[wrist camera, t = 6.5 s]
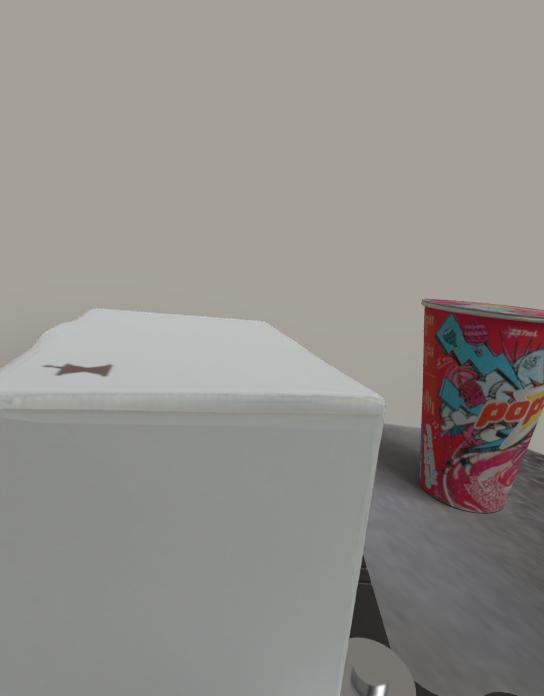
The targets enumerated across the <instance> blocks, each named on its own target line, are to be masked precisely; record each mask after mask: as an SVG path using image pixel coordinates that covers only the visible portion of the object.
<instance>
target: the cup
mask: <svg viewBox="0 0 544 696" xmlns="http://www.w3.org/2000/svg"><path fill="white" fill-rule="evenodd" d="M421 304H422V305H423V306H425V316H424V358H423V359H424V360H423V362H424V363H423V397H422V424H421V451H420V478H419V481H420V484H421V486H422V487H423V488H424V490H426V491H427V492H428V493H429V494H430V495H432V496H433V497H435V498H436V499H438V500H440V501H442V502H444V503H446V504H448V505H450V506H453V507H456V508H459V509H462V510H466V511H470V512H477V513H492V512H497V511H499V510H501V509H502V508H503V507H504V505H505V502H506V500H507V497H508V495H509V492H510V490H511V487H512V485H513V482H514V480H515V477H516V475H517V472H518V470H519V467H520V465H521V462H522V460H523V457H524V455H525V452H526V450H527V447H528V445H529V442H530V440H531V437H532V435H533V432H534V430H535V427H536V425H537V422H538V420H539V417H540V415H541V412H542V409H543V407H544V310H538V309H530V308H522V307H513V306H504V305H495V304H487V303H477V302H464V301H452V300H436V299H435V300H434V299H422V303H421Z"/></svg>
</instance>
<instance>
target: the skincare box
mask: <svg viewBox="0 0 544 696" xmlns="http://www.w3.org/2000/svg"><path fill="white" fill-rule="evenodd" d="M385 408H386V405H385V402H384V399H383V398H382V397H381V396H380V395H379V394H377V393H375V392H373V391H372V390H370V389H368V388H367V387H365V386H363V385H361V384H360V383H358V382H357V381H355V380H353V379H351V378H350V377H348V376H347V375H345V374H343V373H342V372H340V371H339V370H337V369H335V368H334V367H332V366H330V365H329V364H327V363H326V362H324V361H322V360H321V359H319V358H318V357H316V356H315V355H313V354H312V353H310V352H309V351H308V350H306V349H305V348H304V347H302V346H301V345H299V344H297V343H296V342H295V341H293V340H292V339H290V338H289V337H287V336H286V335H284V334H282V333H281V332H280V331H278V330H276V329H275V328H274V327H272V326H271V325H269V324H267V322H263V321H254V320H242V319H231V318H217V317H203V316H188V315H176V314H161V313H149V312H137V311H125V310H114V309H99V308H97V309H96V308H95V309H91V310H89V311H88V312H86V313H85V314H84V315H82V316H80V317H79V318H77V319H76V320H74V321H71V322H66V323H61V324H57V325H56V326H54V327H53V328H51V329H50V330H48V331H46V332H45V333H43V334H41V335H40V336H39V338H38V340H37V341H36V342H35V344H34V345H33V346H32V347H31V348H30V349H29V350H28V351H26V352H24V353H23V354H22V355H20V356H19V357H17V358H15V359H14V360H13V361H11V362H10V363H8V364H7V365H6V366H4V367H2V368H1V369H0V696H340V693H341V686H342V679H343V673H344V666H345V659H346V654H347V649H348V642H349V636H350V630H351V624H352V618H353V611H354V605H355V598H356V591H357V585H358V580H359V575H360V569H361V562H362V556H363V549H364V542H365V536H366V529H367V523H368V517H369V510H370V504H371V498H372V492H373V486H374V480H375V473H376V466H377V459H378V452H379V446H380V441H381V436H382V430H383V424H384V416H385Z"/></svg>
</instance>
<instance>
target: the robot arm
mask: <svg viewBox="0 0 544 696" xmlns="http://www.w3.org/2000/svg"><path fill="white" fill-rule="evenodd" d="M340 696H438V695H435V694H433V693H431V692H429V691H428V690H426V689H425V688H423V687H421V686H420V685H419V684H418V683H416V682H415V681H414V680H413V677H412V675H411V673H410V671H409V669H408V667H407V666H406V665H405V663H404V662H403V661H402V659H401V658H400V657H399V656H398V655H397V654H396V653H394V652H393V651H392V650H391V649H390V646H389V642H388V639H387V635H386V632H385V629H384V625H383V622H382V618H381V615H380V611H379V608H378V605H377V601H376V598H375V594H374V591H373V587H372V585H371V580H370V577H369V574H368V570H366V563H365V560H364V556H362V562H361V569H360V575H359V580H358V585H357V591H356V598H355V605H354V611H353V618H352V624H351V630H350V636H349V642H348V649H347V654H346V659H345V666H344V673H343V679H342V686H341V693H340ZM485 696H517V695H513V694H510V693H504V692H493V693H490V694H487V695H485Z"/></svg>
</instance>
